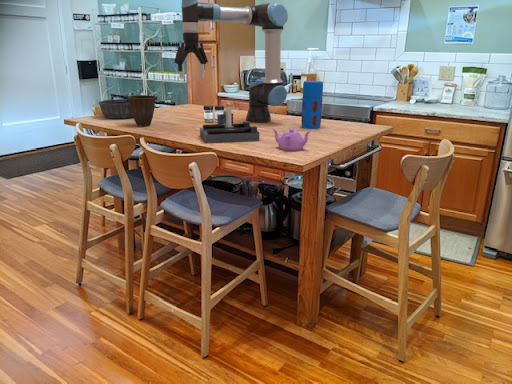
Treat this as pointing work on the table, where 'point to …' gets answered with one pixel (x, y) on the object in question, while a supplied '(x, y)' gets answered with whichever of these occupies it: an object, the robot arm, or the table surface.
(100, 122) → the table surface
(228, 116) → the lever
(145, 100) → the plant pot
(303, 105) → the thermos
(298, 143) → the teapot
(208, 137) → the tray
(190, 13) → the robot arm
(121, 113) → the bundt pan
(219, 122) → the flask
